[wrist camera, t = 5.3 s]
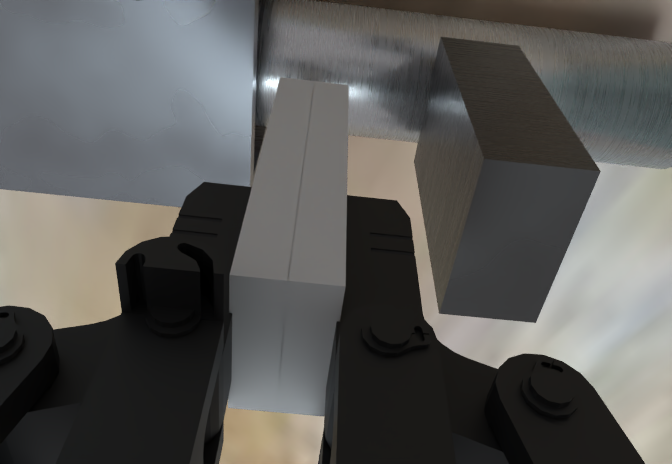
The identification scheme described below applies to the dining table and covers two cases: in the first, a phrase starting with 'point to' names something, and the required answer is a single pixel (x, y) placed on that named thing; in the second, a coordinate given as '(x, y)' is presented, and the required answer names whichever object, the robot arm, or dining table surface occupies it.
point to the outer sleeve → (128, 97)
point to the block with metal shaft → (482, 128)
